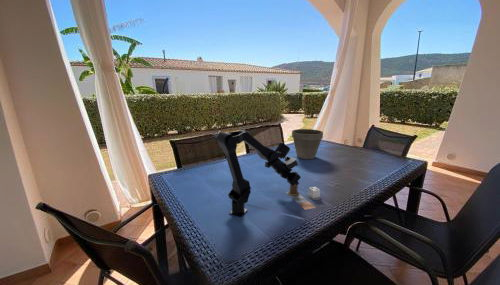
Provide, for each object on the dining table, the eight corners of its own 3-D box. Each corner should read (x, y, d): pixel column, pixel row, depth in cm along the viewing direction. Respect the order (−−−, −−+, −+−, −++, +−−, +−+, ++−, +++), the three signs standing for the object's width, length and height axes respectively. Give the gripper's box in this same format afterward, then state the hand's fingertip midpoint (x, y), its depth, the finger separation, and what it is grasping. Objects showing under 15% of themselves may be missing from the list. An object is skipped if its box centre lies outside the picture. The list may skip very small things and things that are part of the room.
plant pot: (298, 150, 202) (299, 127, 196) (325, 155, 188) (327, 130, 182) (285, 157, 182) (286, 132, 177) (315, 163, 168) (317, 135, 163)
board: (318, 208, 107) (319, 207, 106) (302, 212, 104) (302, 210, 104) (297, 190, 125) (297, 189, 125) (283, 193, 122) (283, 192, 122)
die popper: (323, 199, 115) (324, 190, 114) (311, 202, 113) (312, 192, 111) (315, 193, 121) (316, 184, 120) (304, 195, 119) (305, 186, 118)
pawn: (297, 197, 117) (298, 174, 113) (287, 194, 119) (287, 172, 116) (299, 192, 121) (301, 170, 118) (289, 190, 124) (290, 169, 121)
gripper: (298, 159, 105) (316, 177, 111) (280, 149, 122) (297, 165, 128) (282, 176, 104) (301, 194, 110) (267, 164, 121) (284, 180, 128)
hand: (296, 182), depth 119 cm, fingers closed on pawn, 4 cm apart
